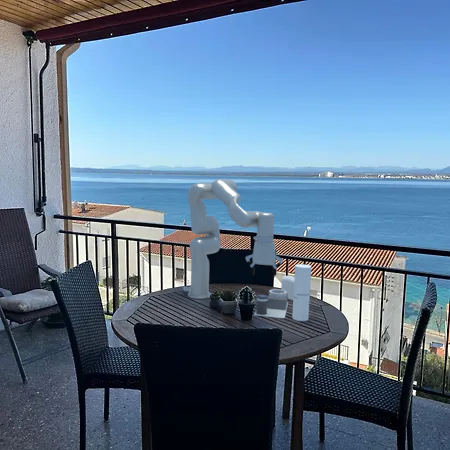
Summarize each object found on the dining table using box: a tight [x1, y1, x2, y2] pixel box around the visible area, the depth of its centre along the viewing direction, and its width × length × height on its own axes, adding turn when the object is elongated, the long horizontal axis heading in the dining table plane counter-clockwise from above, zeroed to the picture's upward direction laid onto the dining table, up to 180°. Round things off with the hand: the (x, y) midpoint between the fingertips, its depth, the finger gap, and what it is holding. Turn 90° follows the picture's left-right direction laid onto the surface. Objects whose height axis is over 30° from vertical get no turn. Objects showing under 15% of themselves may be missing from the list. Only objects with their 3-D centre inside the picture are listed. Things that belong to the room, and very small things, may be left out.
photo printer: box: [280, 275, 295, 301], centre depth 225 cm, size 10×4×12 cm, turn 39°
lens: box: [255, 294, 268, 315], centre depth 197 cm, size 5×5×8 cm
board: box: [253, 301, 289, 319], centre depth 205 cm, size 14×26×1 cm, turn 168°
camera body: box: [267, 288, 289, 311], centre depth 210 cm, size 9×14×7 cm, turn 168°
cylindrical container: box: [291, 263, 312, 322], centre depth 191 cm, size 7×7×25 cm
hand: (263, 276), depth 196 cm, fingers open, 9 cm apart
